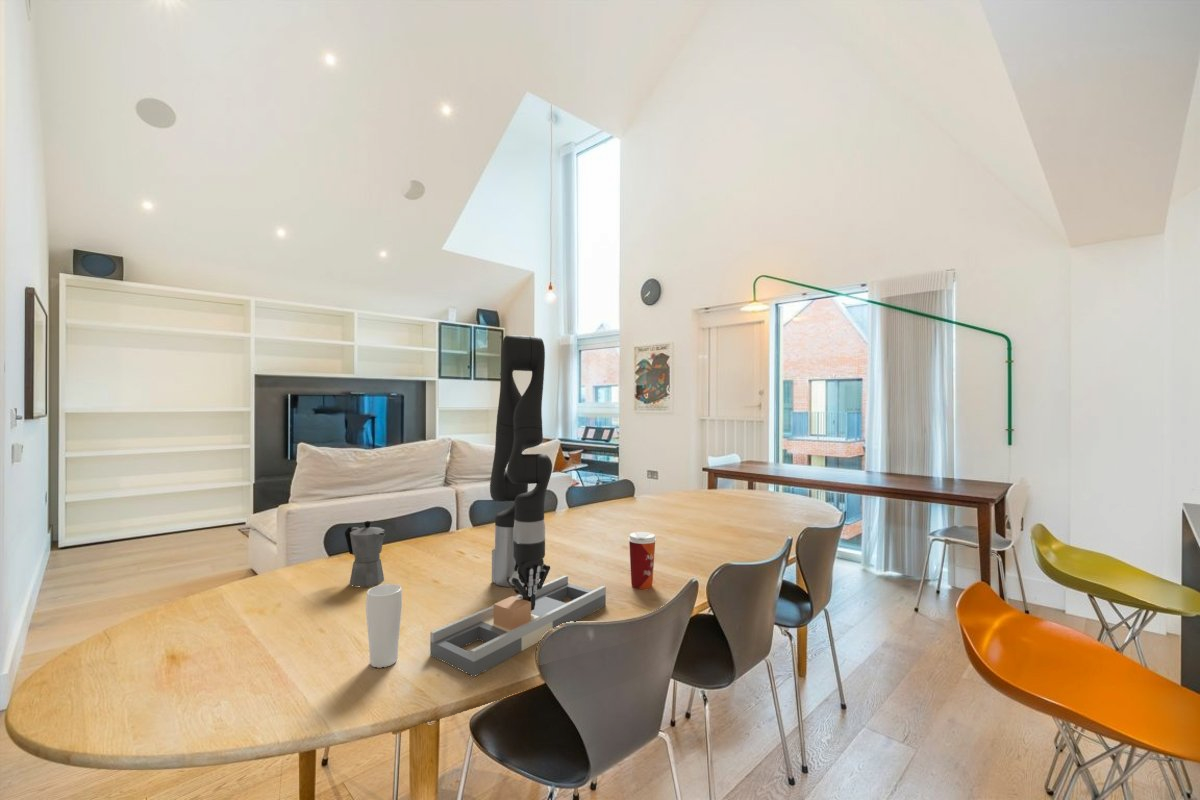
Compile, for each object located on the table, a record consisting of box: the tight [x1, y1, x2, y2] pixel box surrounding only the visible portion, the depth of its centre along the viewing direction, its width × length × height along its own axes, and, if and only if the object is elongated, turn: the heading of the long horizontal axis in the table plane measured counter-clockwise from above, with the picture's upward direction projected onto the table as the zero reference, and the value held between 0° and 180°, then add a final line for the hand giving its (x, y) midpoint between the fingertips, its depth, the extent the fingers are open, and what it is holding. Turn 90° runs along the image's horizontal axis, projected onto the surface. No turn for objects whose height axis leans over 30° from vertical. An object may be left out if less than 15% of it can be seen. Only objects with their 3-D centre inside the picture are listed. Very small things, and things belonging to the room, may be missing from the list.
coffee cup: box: [627, 531, 657, 591], centre depth 150 cm, size 8×8×15 cm
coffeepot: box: [344, 520, 386, 588], centre depth 152 cm, size 15×9×18 cm, turn 67°
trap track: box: [429, 575, 607, 677], centre depth 122 cm, size 44×14×5 cm, turn 144°
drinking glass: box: [365, 583, 403, 669], centre depth 106 cm, size 7×7×15 cm
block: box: [493, 595, 531, 630], centre depth 118 cm, size 6×6×4 cm
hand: (528, 610), depth 123 cm, fingers closed
